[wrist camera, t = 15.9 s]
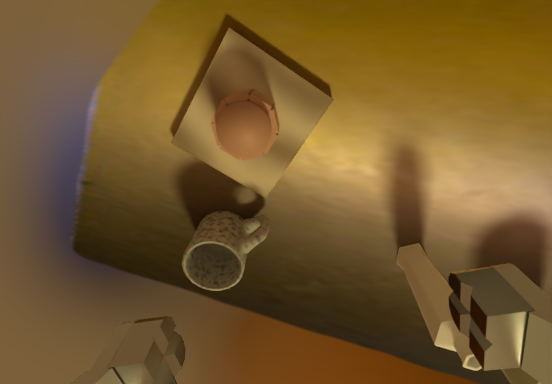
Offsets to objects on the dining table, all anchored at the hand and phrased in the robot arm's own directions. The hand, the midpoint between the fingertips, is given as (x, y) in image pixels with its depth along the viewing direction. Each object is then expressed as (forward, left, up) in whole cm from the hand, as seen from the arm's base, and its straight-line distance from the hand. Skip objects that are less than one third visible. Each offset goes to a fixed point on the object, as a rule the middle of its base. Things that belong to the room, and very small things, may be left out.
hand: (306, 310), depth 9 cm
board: (+2, -4, -27) cm, 27 cm away
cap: (+2, -4, -25) cm, 26 cm away
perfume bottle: (+6, +22, -27) cm, 35 cm away
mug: (+15, +1, -27) cm, 31 cm away
